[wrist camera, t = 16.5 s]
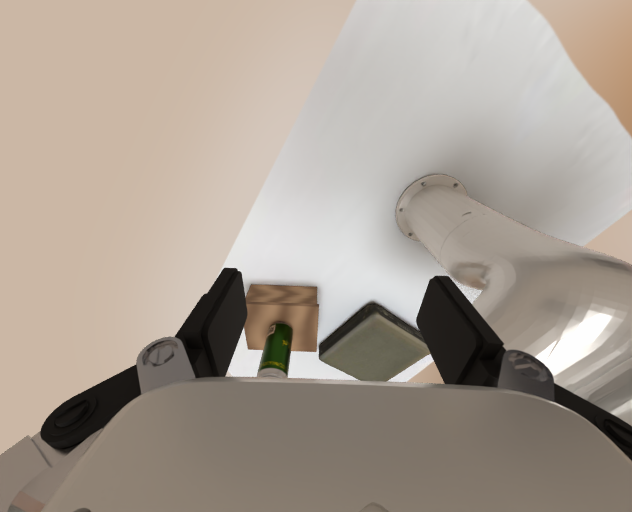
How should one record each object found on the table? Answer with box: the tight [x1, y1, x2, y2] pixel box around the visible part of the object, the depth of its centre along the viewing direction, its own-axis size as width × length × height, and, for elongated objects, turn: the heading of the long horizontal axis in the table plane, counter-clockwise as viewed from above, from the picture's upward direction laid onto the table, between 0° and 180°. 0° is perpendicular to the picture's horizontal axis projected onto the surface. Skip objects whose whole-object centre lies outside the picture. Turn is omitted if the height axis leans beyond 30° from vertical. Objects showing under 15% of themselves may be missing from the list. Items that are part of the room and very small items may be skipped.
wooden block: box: [244, 285, 319, 352], centre depth 53 cm, size 16×14×7 cm
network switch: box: [319, 304, 431, 381], centre depth 60 cm, size 23×24×5 cm
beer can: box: [257, 321, 293, 378], centre depth 45 cm, size 5×5×12 cm
